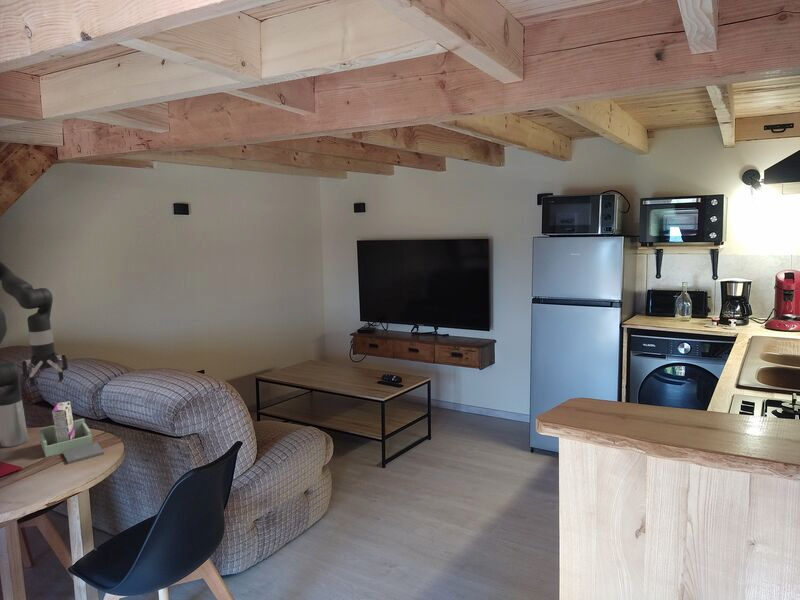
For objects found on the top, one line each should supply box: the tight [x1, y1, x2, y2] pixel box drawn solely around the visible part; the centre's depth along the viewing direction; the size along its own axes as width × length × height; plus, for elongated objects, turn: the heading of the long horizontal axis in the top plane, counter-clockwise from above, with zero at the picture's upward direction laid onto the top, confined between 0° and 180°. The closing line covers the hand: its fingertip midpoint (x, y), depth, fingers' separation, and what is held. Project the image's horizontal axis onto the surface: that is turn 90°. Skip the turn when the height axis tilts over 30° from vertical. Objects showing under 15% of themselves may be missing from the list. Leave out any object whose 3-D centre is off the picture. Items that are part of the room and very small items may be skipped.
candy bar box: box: [51, 401, 77, 443], centre depth 223 cm, size 11×5×16 cm, turn 22°
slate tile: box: [62, 442, 105, 465], centre depth 215 cm, size 12×12×1 cm
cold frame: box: [38, 418, 93, 458], centre depth 223 cm, size 15×16×7 cm
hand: (47, 383), depth 212 cm, fingers open, 8 cm apart
